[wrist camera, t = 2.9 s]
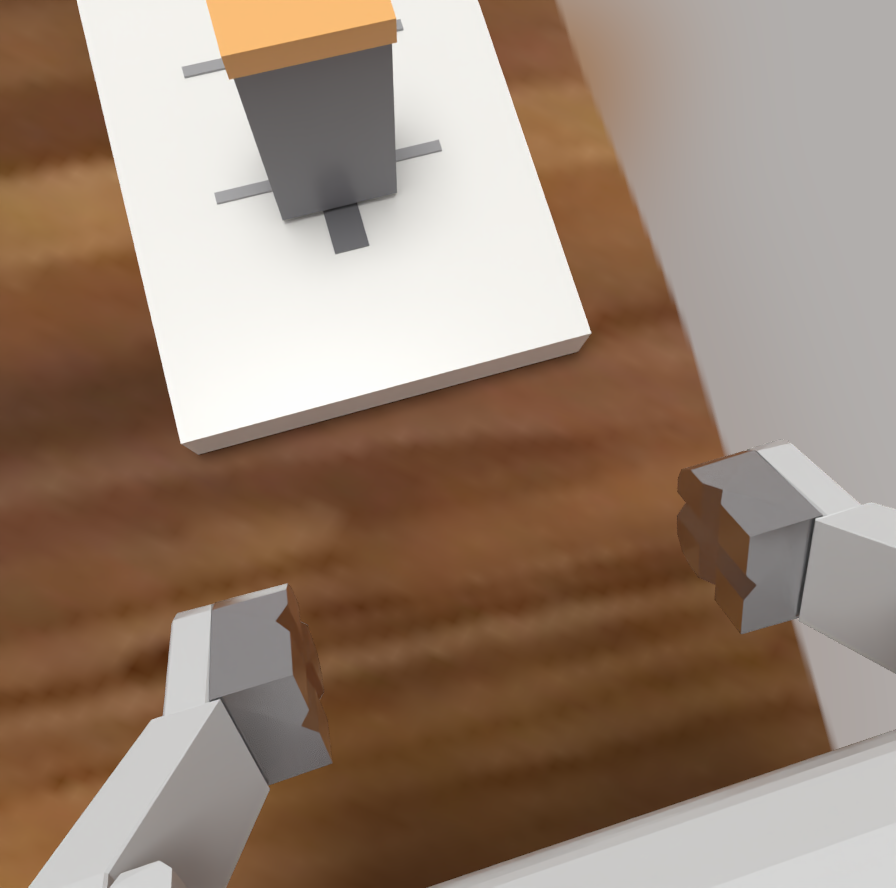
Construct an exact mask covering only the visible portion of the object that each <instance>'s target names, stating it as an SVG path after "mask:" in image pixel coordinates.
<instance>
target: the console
mask: <svg viewBox="0 0 896 888" xmlns="http://www.w3.org/2000/svg"><path fill="white" fill-rule="evenodd" d="M77 3H78V8H79V12H80V16H81V20H82V25H83V29H84V33H85V37H86V42H87V46H88V50H89V55H90V59H91V63H92V67H93V72H94V76H95V80H96V84H97V89H98V93H99V97H100V101H101V106H102V110H103V114H104V118H105V123H106V127H107V131H108V135H109V140H110V144H111V148H112V152H113V157H114V161H115V165H116V169H117V174H118V178H119V182H120V186H121V191H122V195H123V199H124V204H125V208H126V212H127V216H128V221H129V225H130V229H131V233H132V238H133V242H134V246H135V250H136V255H137V259H138V263H139V267H140V272H141V276H142V280H143V284H144V289H145V293H146V297H147V301H148V306H149V310H150V314H151V318H152V323H153V327H154V331H155V336H156V340H157V344H158V348H159V353H160V357H161V361H162V365H163V370H164V374H165V378H166V382H167V387H168V391H169V395H170V399H171V404H172V408H173V412H174V416H175V421H176V425H177V429H178V433H179V438H180V442H181V444H182V445H184V446H185V447H187V448H188V449H190V450H192V451H193V452H195V453H196V454H198V455H199V454H203V453H206V452H210V451H214V450H217V449H221V448H225V447H228V446H232V445H236V444H239V443H243V442H247V441H251V440H254V439H258V438H262V437H265V436H269V435H273V434H276V433H280V432H284V431H287V430H291V429H295V428H298V427H302V426H306V425H309V424H313V423H317V422H320V421H324V420H328V419H332V418H335V417H339V416H343V415H346V414H350V413H354V412H357V411H361V410H365V409H368V408H372V407H376V406H379V405H383V404H387V403H390V402H394V401H398V400H401V399H405V398H409V397H412V396H416V395H420V394H424V393H427V392H431V391H435V390H438V389H442V388H446V387H449V386H453V385H457V384H460V383H464V382H468V381H471V380H475V379H479V378H482V377H486V376H490V375H493V374H497V373H501V372H505V371H508V370H512V369H516V368H519V367H523V366H527V365H530V364H534V363H538V362H541V361H545V360H549V359H552V358H556V357H560V356H563V355H567V354H571V353H574V352H578V351H579V350H580V348H581V347H582V346H583V344H584V343H585V341H586V340H587V338H588V337H589V336H590V334H591V331H590V328H589V325H588V322H587V319H586V316H585V313H584V310H583V307H582V304H581V302H580V299H579V296H578V293H577V290H576V287H575V284H574V281H573V278H572V275H571V272H570V269H569V266H568V263H567V261H566V258H565V255H564V252H563V249H562V246H561V243H560V240H559V237H558V234H557V231H556V228H555V225H554V222H553V219H552V217H551V214H550V211H549V208H548V205H547V202H546V199H545V196H544V193H543V190H542V187H541V184H540V181H539V178H538V176H537V173H536V170H535V167H534V164H533V161H532V158H531V155H530V152H529V149H528V146H527V143H526V140H525V137H524V134H523V132H522V129H521V126H520V123H519V120H518V117H517V114H516V111H515V108H514V105H513V102H512V99H511V96H510V93H509V91H508V88H507V85H506V82H505V79H504V76H503V73H502V70H501V67H500V64H499V61H498V58H497V55H496V52H495V49H494V47H493V44H492V41H491V38H490V35H489V32H488V29H487V26H486V23H485V20H484V17H483V14H482V11H481V8H480V6H479V3H478V0H391V3H392V6H393V9H394V12H395V16H396V24H397V43H393V44H392V56H393V86H394V117H395V147H396V177H397V193H394V194H390V195H386V196H382V197H378V198H374V199H370V200H365V201H361V202H357V203H353V204H349V205H345V206H341V207H337V208H333V209H328V210H324V211H320V212H316V213H312V214H308V215H304V216H300V217H295V218H291V219H287V220H282V217H281V214H280V211H279V208H278V206H277V203H276V200H275V197H274V194H273V191H272V188H271V185H270V182H269V180H268V177H267V174H266V171H265V168H264V165H263V162H262V159H261V157H260V154H259V151H258V148H257V145H256V142H255V139H254V136H253V133H252V131H251V128H250V125H249V122H248V119H247V116H246V113H245V110H244V107H243V105H242V102H241V99H240V96H239V93H238V90H237V87H236V84H235V82H234V79H230V80H229V78H228V75H227V72H226V69H225V66H224V64H223V61H222V58H221V55H220V51H219V47H218V44H217V40H216V36H215V32H214V29H213V25H212V21H211V18H210V14H209V10H208V6H207V3H206V0H77Z"/></svg>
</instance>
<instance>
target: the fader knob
mask: <svg viewBox="0 0 896 888" xmlns="http://www.w3.org/2000/svg"><path fill="white" fill-rule="evenodd" d="M206 3H207V6H208V10H209V14H210V18H211V21H212V25H213V29H214V32H215V36H216V40H217V44H218V47H219V51H220V55H221V58H222V61H223V64H224V66H225V69H226V72H227V75H228V78H229V80H230V79H234V82H235V84H236V87H237V90H238V93H239V96H240V99H241V102H242V105H243V107H244V110H245V113H246V116H247V119H248V122H249V125H250V128H251V131H252V133H253V136H254V139H255V142H256V145H257V148H258V151H259V154H260V157H261V159H262V162H263V165H264V168H265V171H266V174H267V177H268V180H269V182H270V185H271V188H272V191H273V194H274V197H275V200H276V203H277V206H278V208H279V211H280V214H281V217H282V220H287V219H291V218H295V217H300V216H304V215H308V214H312V213H316V212H320V211H324V210H328V209H333V208H337V207H341V206H345V205H349V204H353V203H357V202H361V201H365V200H370V199H374V198H378V197H382V196H386V195H390V194H394V193H397V177H396V147H395V117H394V86H393V56H392V44H393V43H397V24H396V16H395V12H394V9H393V6H392V3H391V0H206Z"/></svg>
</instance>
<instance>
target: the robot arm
mask: <svg viewBox="0 0 896 888" xmlns="http://www.w3.org/2000/svg"><path fill="white" fill-rule="evenodd" d="M677 492H678V493H679V495H680V496H681V497H682V498H683V500H684V501H685V502H686V503H685V505H684V506H683V508H682V509H681V511H680V512H679V514H678V515H677V534H678V538H679V541H680V545H681V549H682V552H683V554H684V556H685V558H686V560H687V562H688V564H689V565H690V567H691V568H692V570H693V571H694V572H695V574H696V575H697V577H698V578H701V579H703V580H705V581H708V582H710V583H712V584H714V585H715V601H716V602H717V604H718V605H719V606H720V608H721V609H722V610H723V612H724V613H725V614H726V615H727V617H728V618H729V619H730V621H731V622H732V623H733V625H734V626H735V627H736V629H737V630H738V631H739V633H740V634H744V633H747V632H751V631H754V630H758V629H761V628H765V627H768V626H772V625H775V624H779V623H782V622H786V621H789V620H793V619H796V618H799V621H800V622H802V623H804V624H805V625H807V626H809V627H811V628H813V629H814V630H817V631H818V632H820V633H822V634H824V635H826V636H828V637H829V638H831V639H833V640H835V641H837V642H838V643H840V644H842V645H844V646H846V647H848V648H849V649H851V650H853V651H855V652H857V653H859V654H860V655H862V656H864V657H866V658H868V659H870V660H872V661H873V662H875V663H877V664H879V665H881V666H883V667H884V668H886V669H888V670H890V671H892V672H894V673H895V674H896V509H893V508H890V507H887V506H883V505H880V504H876V503H873V502H870V503H867V504H863V505H861V504H860V503H859V502H858V501H857V500H855V499H854V498H853V497H852V496H851V495H850V494H849V493H848V492H846V491H845V490H844V489H843V488H842V487H841V486H839V485H838V484H837V483H836V482H835V481H834V480H833V479H831V478H830V477H829V476H828V475H827V474H826V473H824V472H823V471H822V470H821V469H820V468H819V467H818V466H817V465H815V464H814V463H813V462H812V461H811V460H809V459H808V458H807V457H806V456H805V455H804V454H803V453H802V452H800V451H799V450H798V449H797V448H796V447H795V446H794V445H792V444H791V443H790V442H788V441H785V440H782V439H779V440H776V441H773V442H769V443H766V444H763V445H760V446H756V447H753V448H750V449H748V450H746V451H741V452H738V453H735V454H732V455H728V456H725V457H721V458H718V459H715V460H711V461H708V462H704V463H701V464H698V465H694V466H691V467H688V468H684V469H681V472H680V474H679V477H678V490H677ZM323 693H324V686H323V679H322V673H321V668H320V663H319V659H318V654H317V651H316V647H315V644H314V641H313V638H312V635H311V633H310V630H309V627H308V625H306V624H304V623H302V622H301V621H300V612H299V603H298V601H297V598H296V596H295V594H294V592H293V589H292V587H291V586H290V585H289V584H288V583H287V584H283V585H280V586H276V587H272V588H268V589H265V590H261V591H257V592H253V593H249V594H246V595H242V596H238V597H234V598H231V599H227V600H223V601H219V602H215V604H211V605H207V606H204V607H200V608H196V609H192V610H188V611H184V612H181V613H177V614H176V616H175V618H174V620H173V622H172V626H171V637H170V647H169V658H168V668H167V678H166V689H165V699H164V710H163V716H162V717H159V718H156V719H152V720H151V721H150V722H149V724H148V725H147V726H146V728H145V729H144V730H143V732H142V733H141V735H140V736H139V737H138V739H137V740H136V741H135V743H134V744H133V745H132V747H131V748H130V750H129V751H128V752H127V754H126V755H125V756H124V758H123V759H122V760H121V762H120V763H119V765H118V766H117V767H116V769H115V770H114V771H113V773H112V774H111V775H110V777H109V778H108V780H107V781H106V782H105V784H104V785H103V786H102V788H101V789H100V790H99V792H98V793H97V795H96V796H95V797H94V799H93V800H92V801H91V803H90V804H89V805H88V807H87V808H86V810H85V811H84V812H83V814H82V815H81V816H80V818H79V819H78V820H77V822H76V823H75V825H74V826H73V827H72V829H71V830H70V831H69V833H68V834H67V835H66V837H65V838H64V840H63V841H62V842H61V844H60V845H59V846H58V848H57V849H56V850H55V852H54V853H53V855H52V856H51V857H50V859H49V860H48V861H47V863H46V864H45V865H44V867H43V868H42V870H41V871H40V872H39V874H38V875H37V876H36V878H35V879H34V881H33V882H32V883H31V885H30V886H29V887H28V888H226V886H227V884H228V882H229V880H230V877H231V875H232V873H233V871H234V869H235V866H236V864H237V862H238V860H239V857H240V855H241V853H242V851H243V848H244V846H245V844H246V842H247V839H248V837H249V835H250V833H251V830H252V828H253V826H254V824H255V821H256V819H257V817H258V815H259V812H260V810H261V808H262V806H263V803H264V801H265V799H266V797H267V794H268V792H269V790H270V789H269V787H268V785H271V784H274V783H277V782H279V781H282V780H285V779H288V778H291V777H294V776H297V775H300V774H303V773H306V772H308V771H311V770H314V769H317V768H320V767H323V766H326V765H329V764H332V763H333V762H332V753H331V745H330V736H329V727H328V719H327V717H326V714H325V712H324V710H323V707H322V705H321V702H320V698H321V696H322V695H323ZM428 888H896V730H893V731H890V732H887V733H884V734H881V735H878V736H875V737H872V738H869V739H866V740H863V741H860V742H857V743H854V744H851V745H848V746H845V747H842V748H839V749H836V750H833V751H830V752H827V753H824V754H822V755H819V756H816V757H813V758H810V759H807V760H804V761H801V762H798V763H795V764H792V765H789V766H786V767H783V768H780V769H777V770H774V771H771V772H768V773H765V774H762V775H759V776H756V777H753V778H750V779H747V780H744V781H742V782H739V783H736V784H733V785H730V786H727V787H724V788H721V789H718V790H715V791H712V792H709V793H706V794H703V795H700V796H697V797H694V798H691V799H688V800H685V801H682V802H679V803H676V804H673V805H670V806H668V807H665V808H662V809H659V810H656V811H653V812H650V813H647V814H644V815H641V816H638V817H635V818H632V819H629V820H626V821H623V822H620V823H617V824H614V825H611V826H608V827H605V828H602V829H599V830H596V831H594V832H591V833H588V834H585V835H582V836H579V837H576V838H573V839H570V840H567V841H564V842H561V843H558V844H555V845H552V846H549V847H546V848H543V849H540V850H537V851H534V852H531V853H528V854H525V855H523V856H520V857H517V858H514V859H511V860H508V861H505V862H502V863H499V864H496V865H493V866H490V867H487V868H484V869H481V870H478V871H475V872H472V873H469V874H466V875H463V876H460V877H457V878H454V879H451V880H448V881H445V882H442V883H440V884H437V885H434V886H431V887H428Z"/></svg>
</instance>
